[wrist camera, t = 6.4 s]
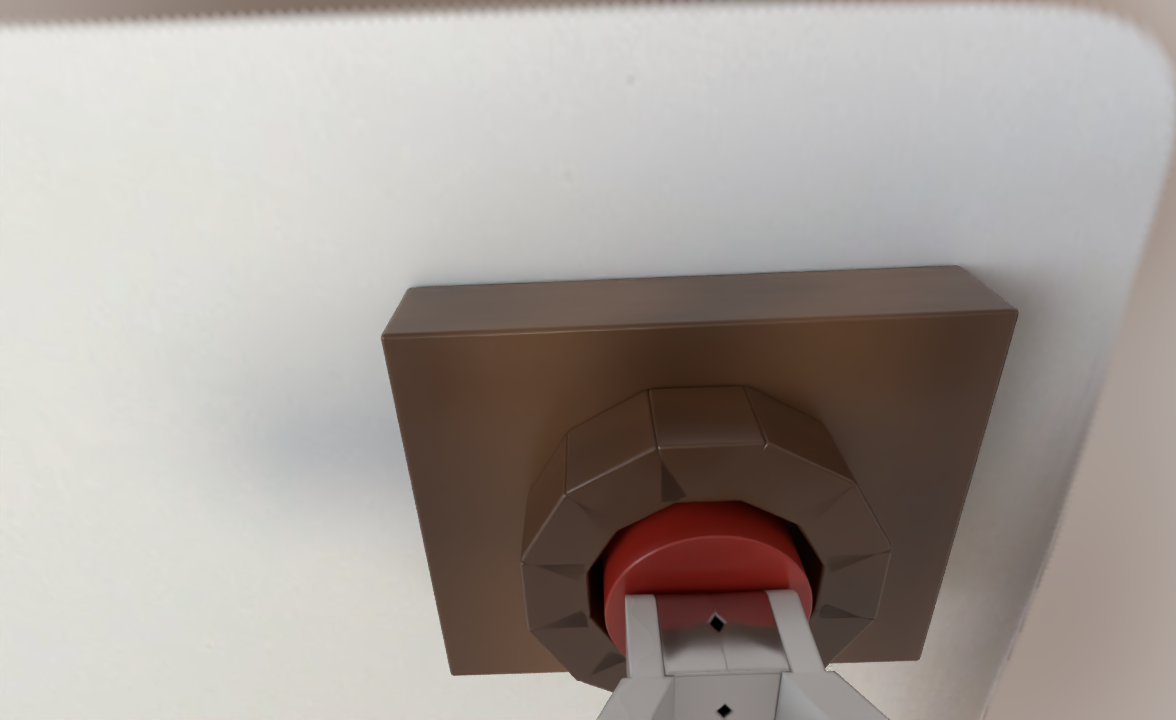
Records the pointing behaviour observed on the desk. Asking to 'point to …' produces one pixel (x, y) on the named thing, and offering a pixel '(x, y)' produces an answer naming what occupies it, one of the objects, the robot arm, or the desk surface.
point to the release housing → (690, 443)
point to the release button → (700, 557)
